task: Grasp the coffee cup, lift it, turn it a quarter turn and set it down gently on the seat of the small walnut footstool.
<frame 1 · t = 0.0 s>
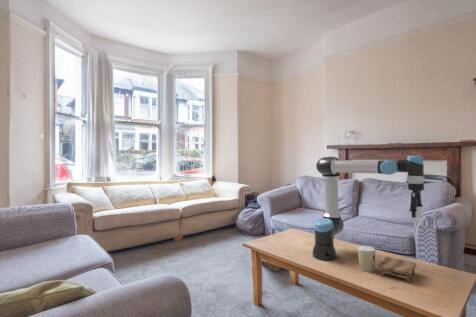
hand: (416, 220, 150), 28 cm above the table, fingers open, 13 cm apart
footstool: (397, 274, 146), on the table
coffee cup: (366, 269, 154), on the table
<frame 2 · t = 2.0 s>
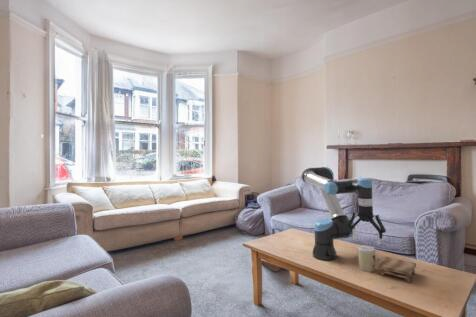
hand: (366, 241, 153), 16 cm above the table, fingers open, 13 cm apart
nothing on the table moved.
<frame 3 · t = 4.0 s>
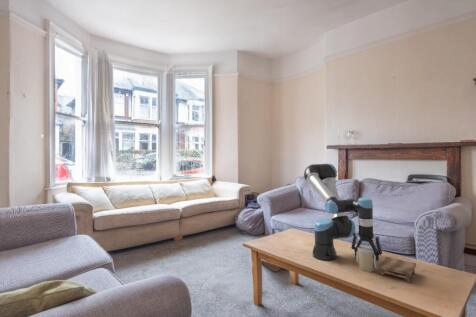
hand: (366, 263, 154), 3 cm above the table, fingers closed on coffee cup, 9 cm apart
coffee cup: (366, 269, 154), on the table, touching gripper
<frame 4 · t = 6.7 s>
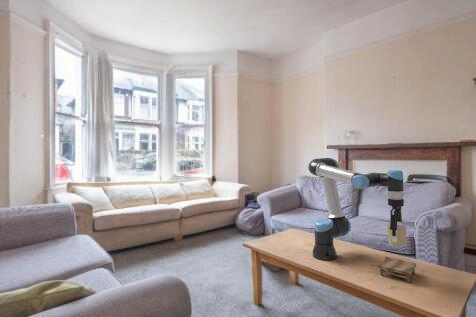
hand: (396, 239, 146), 19 cm above the table, fingers closed on coffee cup, 9 cm apart
coffee cup: (396, 244, 146), point 16 cm above the table, touching gripper
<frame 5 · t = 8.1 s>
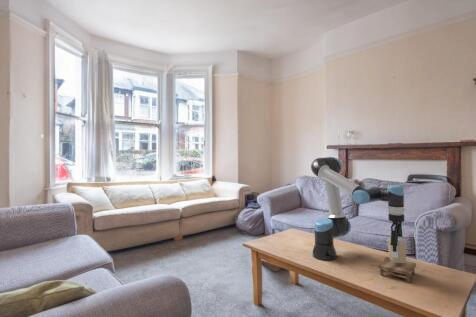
hand: (397, 254, 146), 11 cm above the table, fingers closed on coffee cup, 9 cm apart
coffee cup: (397, 260, 146), point 8 cm above the table, touching gripper
when the fingers open (9 cm above the table, at t = 9.3 s): coffee cup stays where it is, resting on footstool.
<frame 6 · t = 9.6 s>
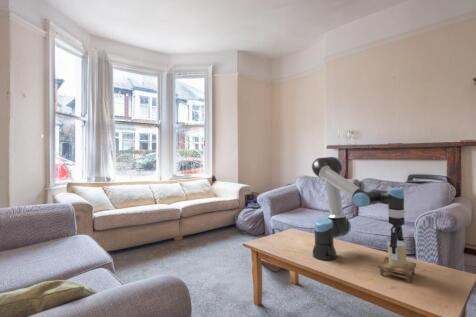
hand: (397, 255, 146), 10 cm above the table, fingers open, 12 cm apart
coffee cup: (397, 264, 146), point 5 cm above the table, touching footstool
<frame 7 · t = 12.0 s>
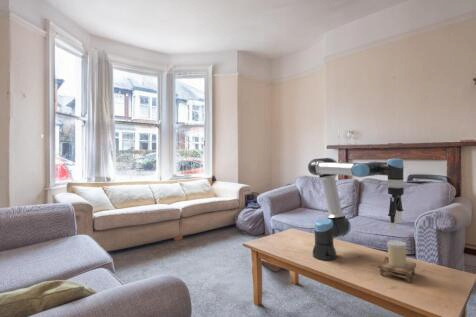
hand: (396, 225, 146), 27 cm above the table, fingers open, 13 cm apart
nothing on the table moved.
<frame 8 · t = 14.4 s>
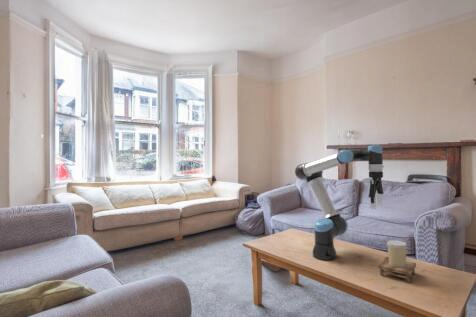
hand: (376, 206, 159), 35 cm above the table, fingers open, 13 cm apart
nothing on the table moved.
at the end: coffee cup inside the target area on the footstool (0.1 cm from its centre), point 5.3 cm above the footstool's base; coffee cup tilted 0°; the gripper is holding nothing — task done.
